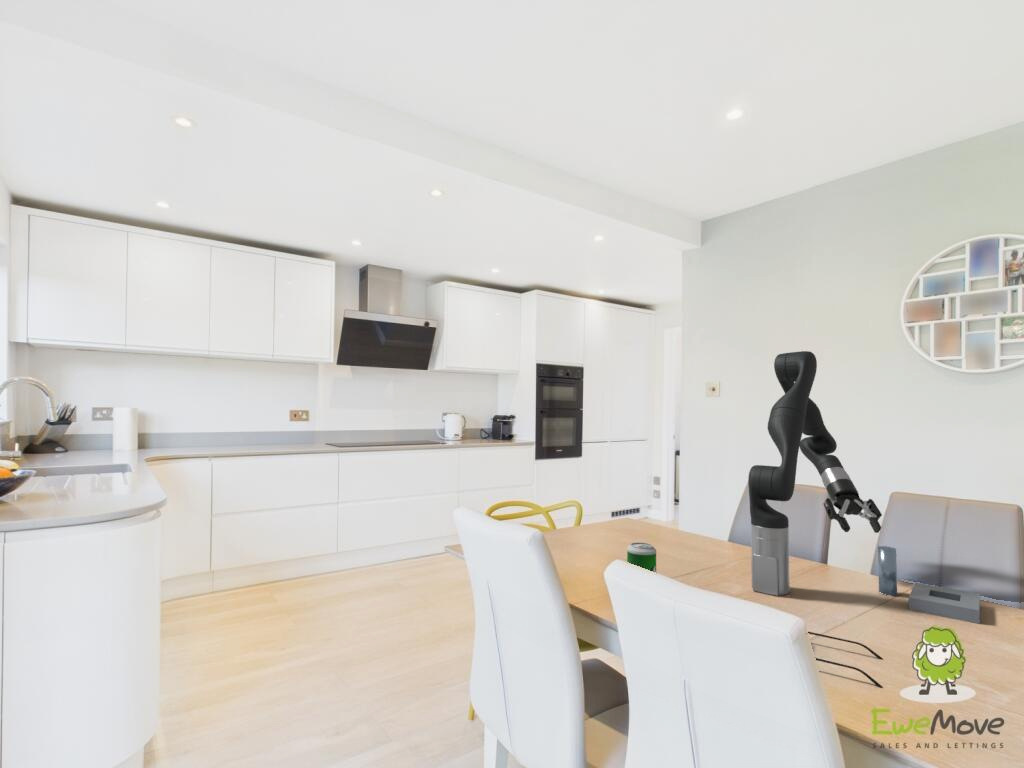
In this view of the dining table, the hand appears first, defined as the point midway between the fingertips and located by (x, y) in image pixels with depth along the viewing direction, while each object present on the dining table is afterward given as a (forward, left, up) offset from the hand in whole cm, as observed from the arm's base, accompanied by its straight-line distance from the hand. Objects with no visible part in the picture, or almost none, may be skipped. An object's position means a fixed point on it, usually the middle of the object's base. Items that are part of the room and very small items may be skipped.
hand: (863, 530), depth 154 cm
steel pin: (-8, -7, -14) cm, 18 cm away
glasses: (-64, -4, -15) cm, 65 cm away
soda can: (-52, +43, -15) cm, 68 cm away
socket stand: (-11, -19, -14) cm, 26 cm away
